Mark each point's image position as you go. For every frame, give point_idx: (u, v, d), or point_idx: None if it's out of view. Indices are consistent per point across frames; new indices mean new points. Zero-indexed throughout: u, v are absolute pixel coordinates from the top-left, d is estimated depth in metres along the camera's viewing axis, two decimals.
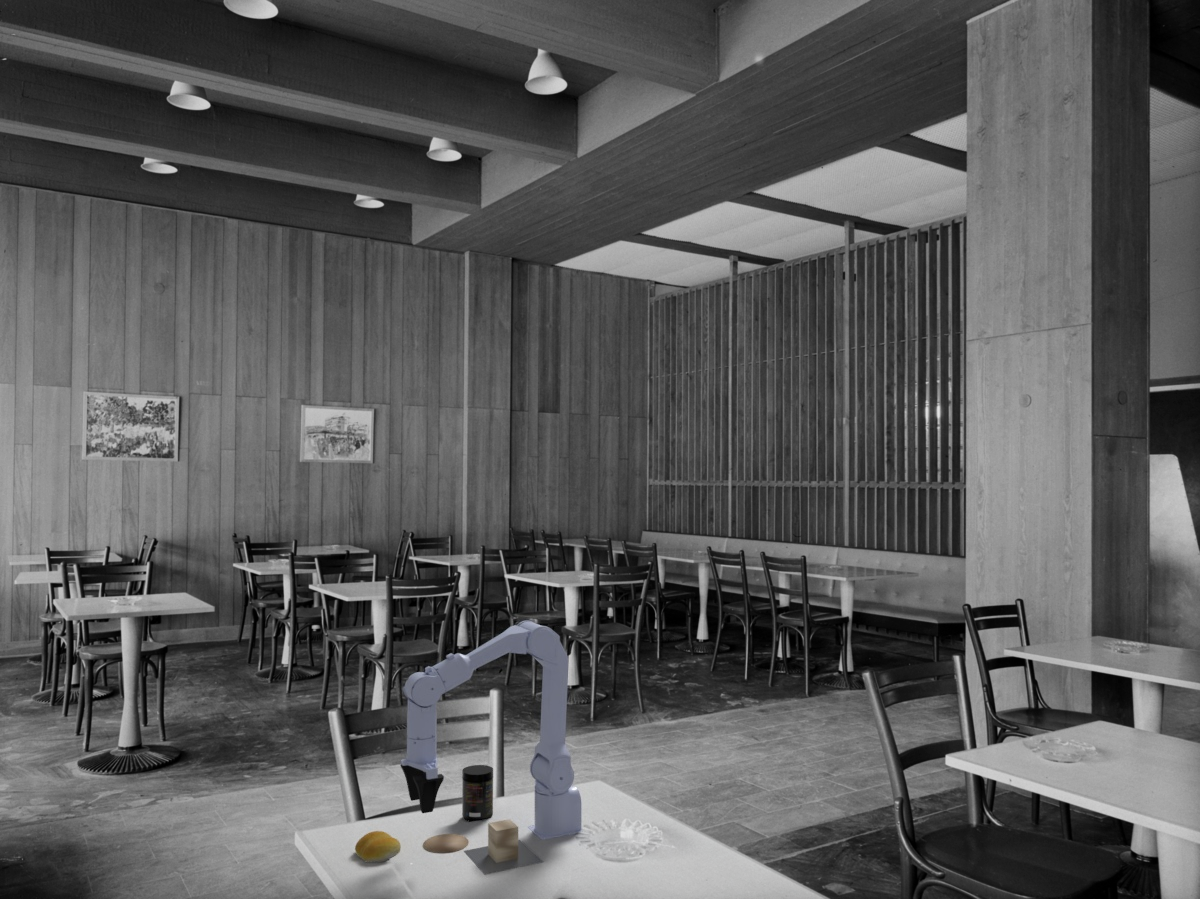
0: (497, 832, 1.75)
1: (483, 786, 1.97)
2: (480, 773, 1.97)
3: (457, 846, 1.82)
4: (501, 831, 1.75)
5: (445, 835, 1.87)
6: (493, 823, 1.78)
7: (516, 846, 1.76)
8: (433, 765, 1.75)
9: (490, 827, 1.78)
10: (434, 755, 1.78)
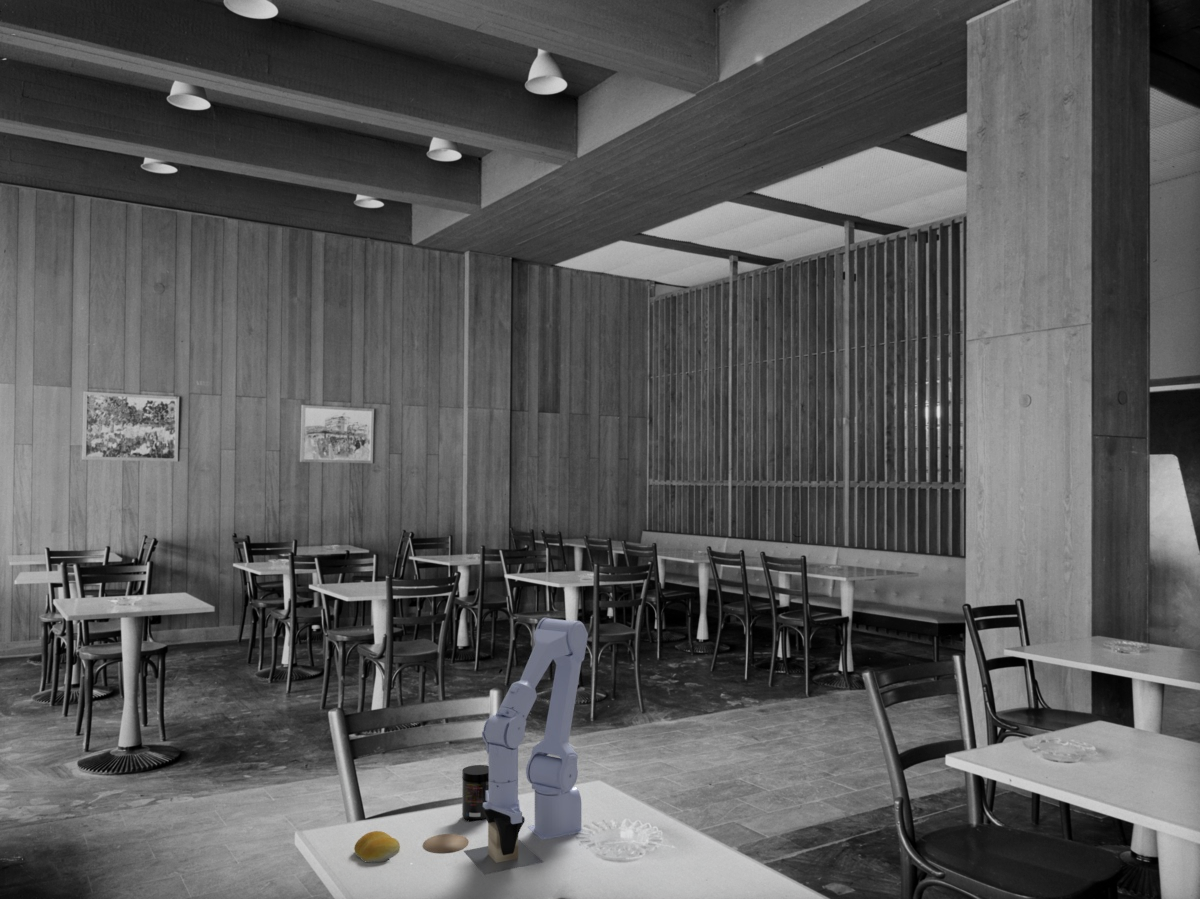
0: (497, 832, 1.75)
1: (483, 786, 1.97)
2: (480, 773, 1.97)
3: (457, 846, 1.82)
4: None
5: (445, 835, 1.87)
6: (493, 823, 1.78)
7: (516, 846, 1.76)
8: (516, 809, 1.74)
9: (490, 827, 1.78)
10: (516, 798, 1.77)
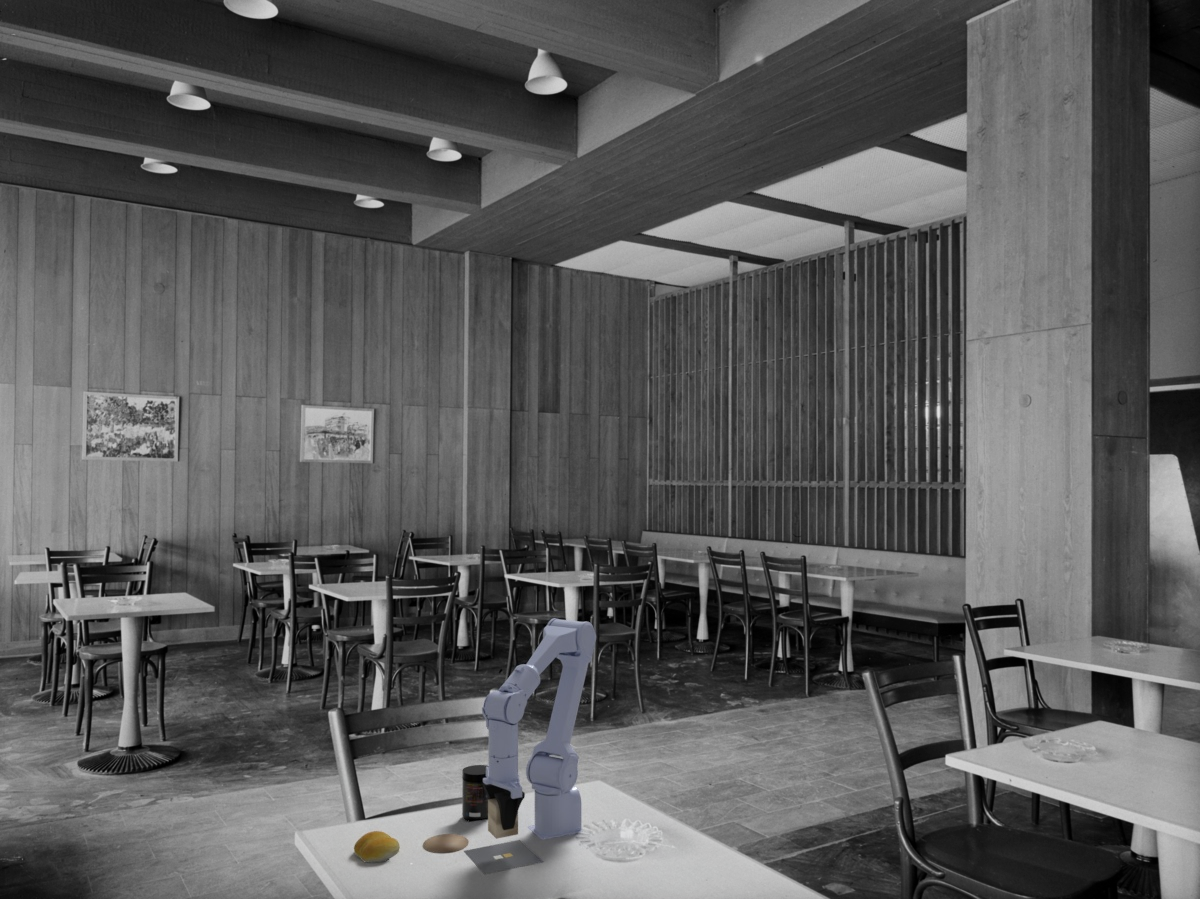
0: (497, 808, 1.75)
1: None
2: (480, 773, 1.97)
3: (457, 846, 1.82)
4: None
5: (445, 835, 1.87)
6: (493, 800, 1.79)
7: (516, 822, 1.77)
8: (517, 784, 1.74)
9: (489, 804, 1.78)
10: (516, 774, 1.77)
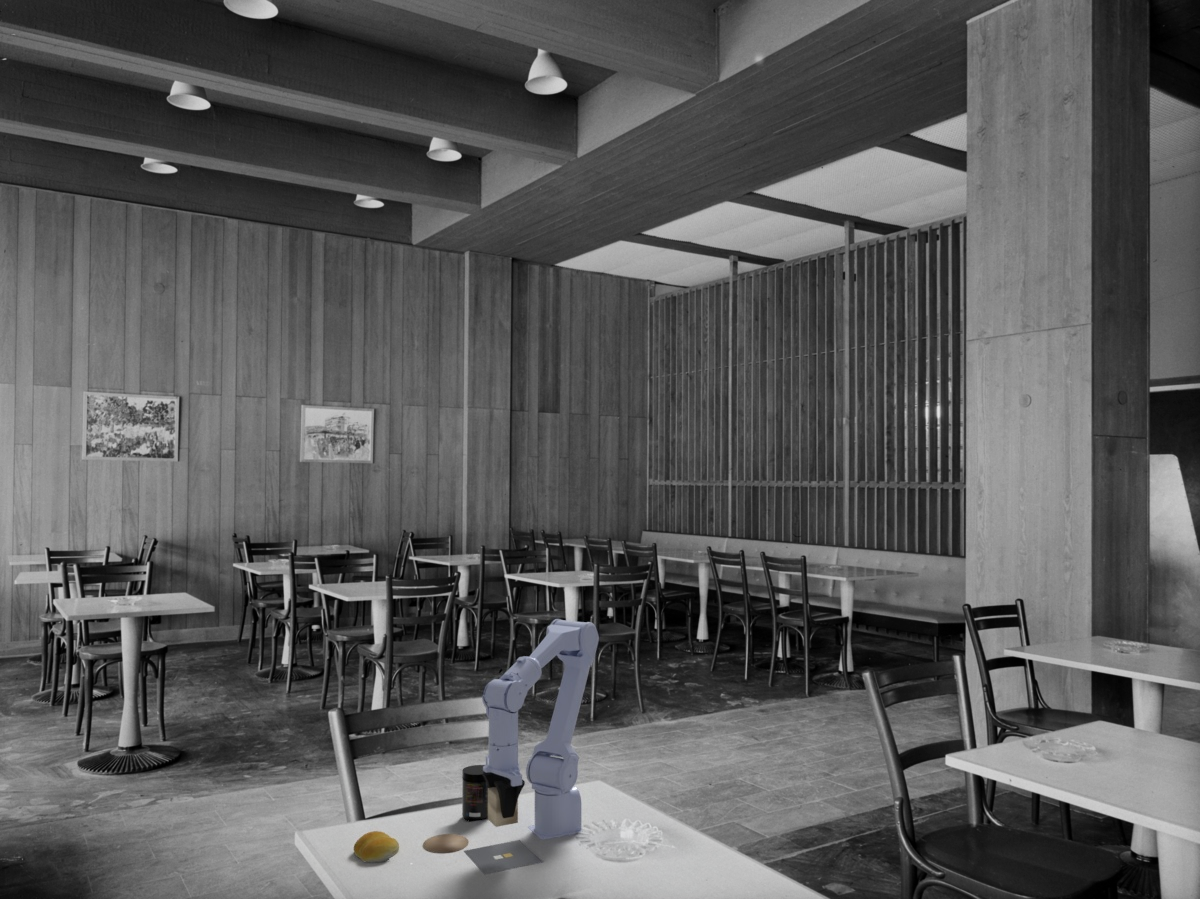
0: (497, 796, 1.75)
1: (483, 786, 1.97)
2: (480, 773, 1.97)
3: (457, 846, 1.82)
4: None
5: (445, 835, 1.87)
6: (493, 788, 1.79)
7: (516, 811, 1.77)
8: (516, 772, 1.74)
9: (489, 792, 1.78)
10: (516, 762, 1.77)
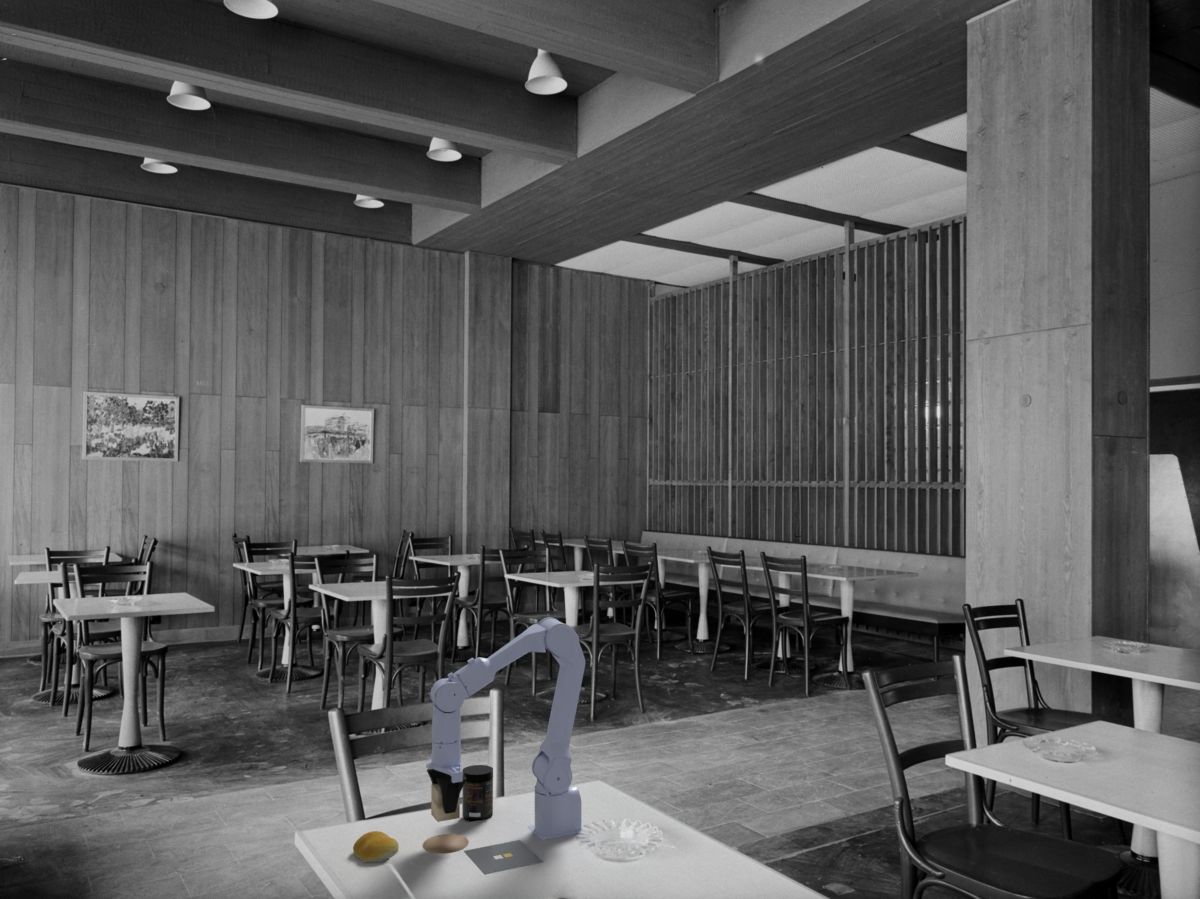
0: (439, 792, 1.81)
1: (483, 786, 1.97)
2: (480, 773, 1.97)
3: (457, 846, 1.82)
4: None
5: (445, 835, 1.87)
6: (436, 784, 1.85)
7: (457, 806, 1.83)
8: (458, 769, 1.80)
9: (432, 788, 1.84)
10: (458, 759, 1.83)
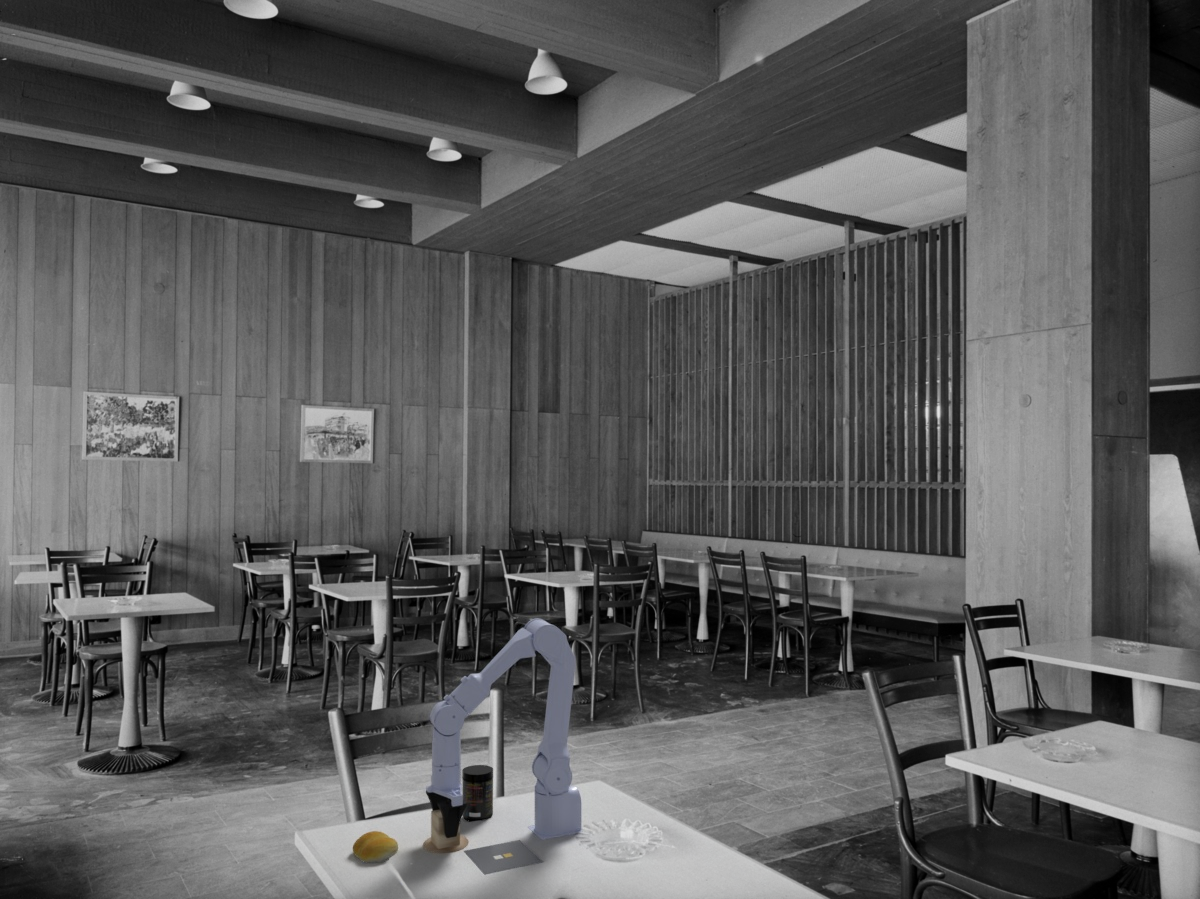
0: (439, 819, 1.81)
1: (483, 786, 1.97)
2: (480, 773, 1.97)
3: (457, 846, 1.82)
4: (442, 818, 1.81)
5: None
6: (436, 811, 1.84)
7: (458, 833, 1.83)
8: (458, 792, 1.80)
9: (432, 815, 1.84)
10: (458, 782, 1.83)
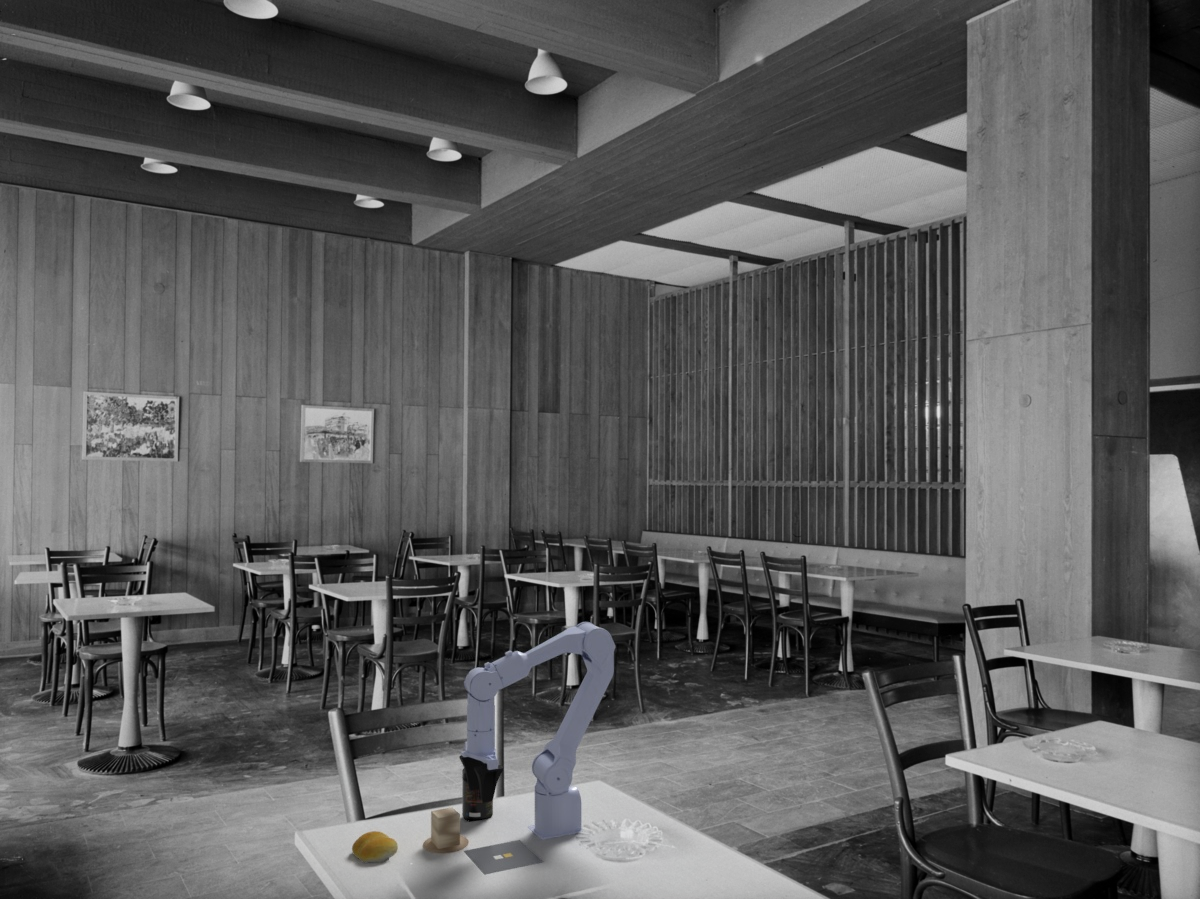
0: (439, 819, 1.81)
1: None
2: None
3: (457, 846, 1.82)
4: (442, 818, 1.81)
5: None
6: (436, 811, 1.84)
7: (458, 833, 1.83)
8: (493, 756, 1.83)
9: (432, 815, 1.84)
10: (493, 747, 1.86)
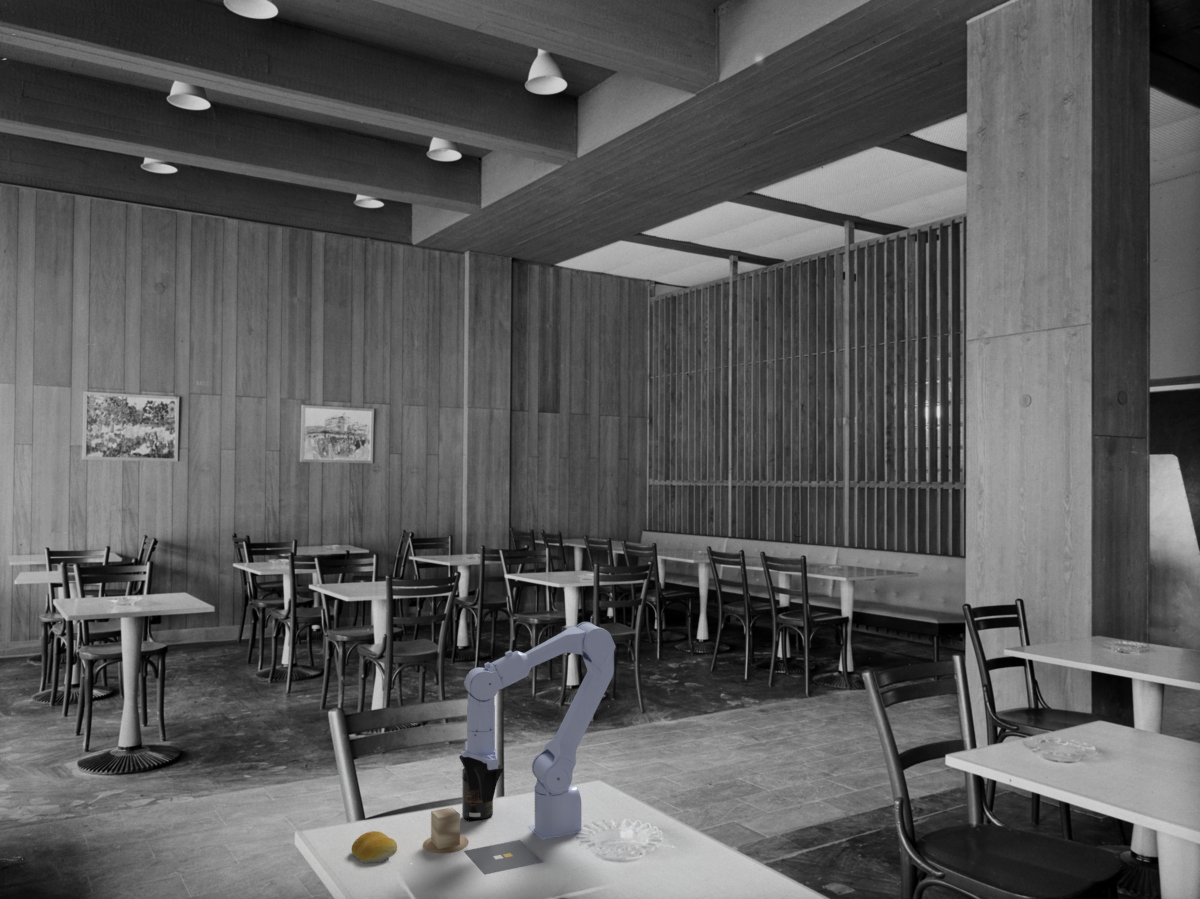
0: (439, 819, 1.81)
1: None
2: None
3: (457, 846, 1.82)
4: (442, 818, 1.81)
5: None
6: (436, 811, 1.84)
7: (458, 833, 1.83)
8: (493, 756, 1.83)
9: (432, 815, 1.84)
10: (493, 747, 1.86)
